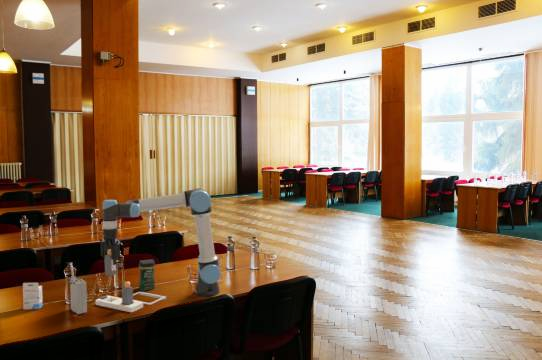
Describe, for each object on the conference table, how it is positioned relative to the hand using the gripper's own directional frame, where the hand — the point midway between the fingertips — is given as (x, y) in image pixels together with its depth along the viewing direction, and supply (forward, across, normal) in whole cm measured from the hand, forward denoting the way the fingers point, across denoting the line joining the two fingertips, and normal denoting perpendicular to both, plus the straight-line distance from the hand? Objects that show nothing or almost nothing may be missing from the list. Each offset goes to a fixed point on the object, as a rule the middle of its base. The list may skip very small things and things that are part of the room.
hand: (110, 269), depth 257 cm
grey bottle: (+3, 0, 0) cm, 3 cm away
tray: (+20, -10, -16) cm, 28 cm away
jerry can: (+21, +10, +14) cm, 27 cm away
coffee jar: (+21, +2, -32) cm, 38 cm away
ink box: (+21, +35, +22) cm, 46 cm away
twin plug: (+19, -12, 0) cm, 23 cm away
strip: (+20, -6, 0) cm, 21 cm away
